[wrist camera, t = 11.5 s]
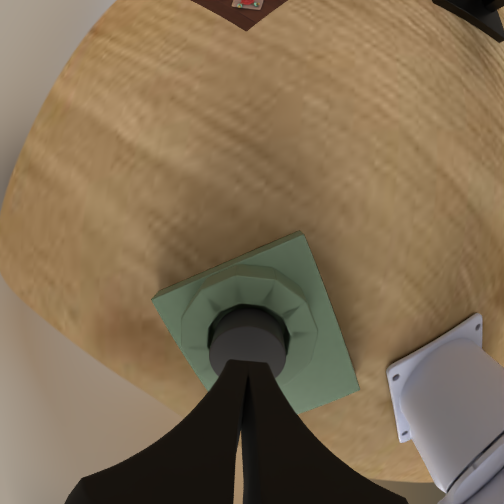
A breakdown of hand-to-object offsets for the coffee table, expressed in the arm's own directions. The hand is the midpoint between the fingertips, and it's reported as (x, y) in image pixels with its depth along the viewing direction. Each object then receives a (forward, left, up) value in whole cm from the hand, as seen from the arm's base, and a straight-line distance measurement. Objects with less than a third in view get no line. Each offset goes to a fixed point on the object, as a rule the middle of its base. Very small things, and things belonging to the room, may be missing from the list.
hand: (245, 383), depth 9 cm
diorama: (+17, -7, -6) cm, 19 cm away
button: (0, 0, -3) cm, 3 cm away
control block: (-2, 0, -6) cm, 6 cm away
